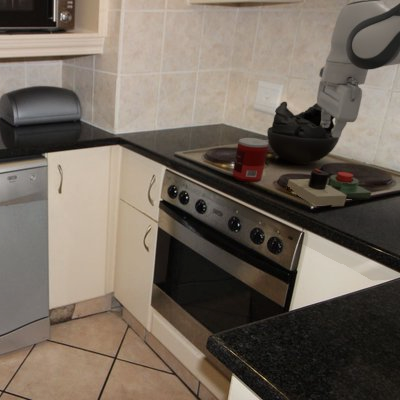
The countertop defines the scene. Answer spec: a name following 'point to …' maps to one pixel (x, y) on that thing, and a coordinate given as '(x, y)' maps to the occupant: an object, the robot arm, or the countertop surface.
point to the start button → (344, 176)
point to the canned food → (250, 159)
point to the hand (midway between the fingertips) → (329, 131)
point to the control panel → (317, 193)
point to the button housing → (349, 188)
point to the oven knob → (318, 179)
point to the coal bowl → (300, 135)
